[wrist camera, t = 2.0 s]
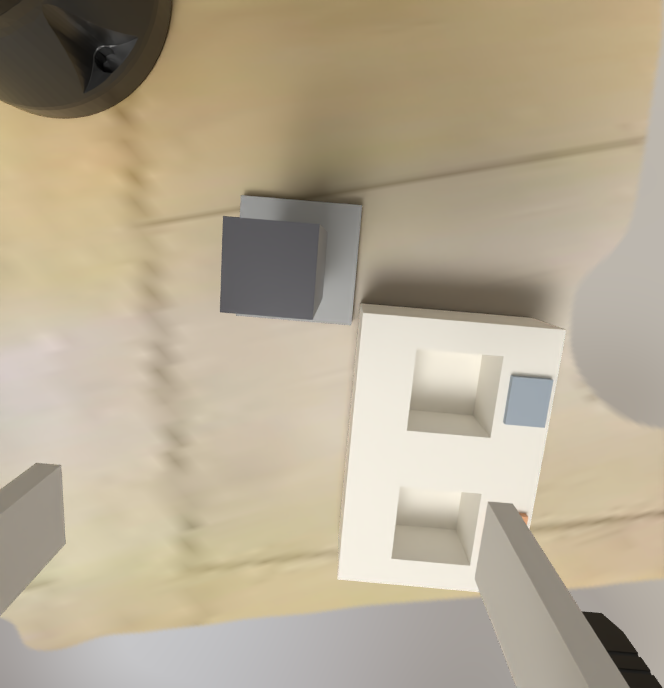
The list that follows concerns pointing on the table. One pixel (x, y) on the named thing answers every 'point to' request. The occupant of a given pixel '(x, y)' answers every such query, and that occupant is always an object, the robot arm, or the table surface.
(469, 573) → the socket block
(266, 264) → the grey tall block
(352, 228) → the mat
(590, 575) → the table surface
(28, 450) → the table surface
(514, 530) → the robot arm
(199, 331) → the table surface
